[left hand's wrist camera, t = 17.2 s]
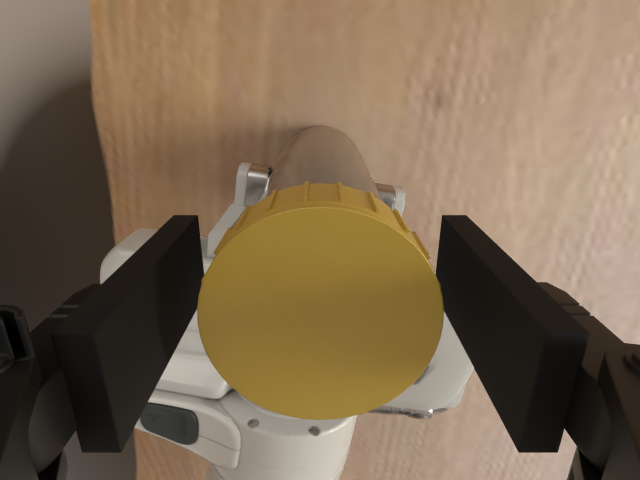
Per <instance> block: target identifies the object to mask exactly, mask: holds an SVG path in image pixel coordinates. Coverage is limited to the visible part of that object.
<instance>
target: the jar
mask: <svg viewBox="0 0 640 480" xmlns="http://www.w3.org/2000/svg"><path fill="white" fill-rule="evenodd" d="M305 181H309V184H313V183H327V184H337V182H342V185H343V186H348V187H352V188H355V189H358V190H361V191H363V192H366V193H368V192H369V191H370V192H372V193H373V195H374V197H376V198H377V199H379V200H380V201H382V202H383V203H385V202H384V200H383V198H382V196H381V194H380V192H379V190H378V188H377V187H376V185H375V183H374V181H373V179H372V177H371V175H370V173H369V171H368V169H367V167H366V165H365V163H364V161H363V159H362V157H361V155H360V154H359V152H358V150H357V148H356V146H355V144H354V143H353V142H352V140H351V139H350V138H349V137H348V136H346V135H345V134H344V133H342V132H341V131H339V130H337V129H334V128H331V127H327V126H313V127H309V128H306V129H303V130H301V131H299V132H298V133H296V134H295V135H294V136H292V137H291V138H290V139H289V141H288V142H287V143H286V145H285V146H284V148H283V150H282V152H281V154H280V156H279V158H278V160H277V162H276V164H275V166H274V168H273V170H272V172H271V173H270V175H269V177H268V179H267V181H266V183H265V185H264V187H263V189H262V191H261V193H260V195H259V197H258V199H257V201H256V203H257V202H259V201H260V200H262V199H263V198H265V197H267V196H269V195H271V194H272V192H273V190H275V189H277V191H280V190H283V189H286V188H289V187H293V186H298V185H303V184H304V182H305ZM256 203H255V204H256Z"/></svg>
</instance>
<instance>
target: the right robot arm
mask: <svg viewBox="0 0 640 480" xmlns="http://www.w3.org/2000/svg"><path fill="white" fill-rule="evenodd" d="M271 172H272V167H270V166H264V165H259V164H252V163H247V162H242V163H241V164H240V165H239V168H238V172H237V177H236V188H235V199H234V200H233V202H232V203H231V204H230V206H229V207H228V208H227V210H226V211H225V212H224V214H223V215H222V216H221V218H220V219H219V220H218V222H217V223H216V224H215V226H214V227H213V229H212V230H211V231H210V233H209V234H208V237H203V236H200V240H201V249H202V258H203V267H204V275H205V273H206V271H207V270H208V268H209V266H210V264H211V263H212V261H213V259H214V257H215V256H216V255H215V254H213V252H214V251H215V249H216V247H217V246H218V244H219V242H220V241H221V239H222V237H223V236H224V234H225V232H226V231H227V229H228V228H231V229H232V227H233V226H234V224H235V222H236V221H237V220H238V218H239V217H240V216H241V214H242V213H243V212H244V210H245V209H246V207H247V206H248V205H250V206H251V207H252V206H253V205H255V203H256V201H257V199H258V197H259V195H260V193H261V191H262V189H263V187H264V185H265V183H266V181H267V179H268V177H269V175H270V173H271ZM375 185H376V187H377V188H378V190H379V192H380V194H381V196H382V198H383V200H384V202H385V204H386V205H388V206H389V207H390V208H391V209H392V210H394V209H395V208H396V209H397V210H398V211H399V213H400V215H401V216H402V212H403V208H404V204H405V195H406V194H405V191H404V190H403V189H402V187H397V186H391V185H385V184H378V183H375ZM157 231H158V230H157V229H150V228H140V229H137V230H135V231H134V232H132V233H131V234H130V235H128V236H127V237H125V238H124V239H123V240H121V241H120V242H119V243H118V244H117V245H116V246H115V247H114V248H113V249H112V250H111V251H110V252H109V253H108V254H107V255H106V257H105V258H104V260H103V262H102V265H101V270H100V284H102V283H103V282H104V281H105V280H106V279H107V278H108V277H109V276H111V275H112V274H113V273H114V272H115V271H116V270H117V269H118V268H119V267H120V266H121V265H122V264H123V263H124V262H125V261H126V260H127V259H128V258H129V257H131V256H132V255H133V254H134V253H135V252H136V251H137V250H138V249H139V248H140V247H141V246H142V245H143V244H144V243H145V242H146V241H147V240H148V239H150V238H151V237H152V236H153V235H154V234H155V233H156V232H157ZM434 272H435V275H436V271H434ZM473 369H474V367H473V365H472V363H471V361H470V359H469V357H468V355H467V354H466V352H465V350H464V348H463V346H462V344H461V342H460V340H459V338H458V337H457V335H456V333H455V331H454V329H453V327H452V325H451V323H450V321H449V319H448V318H447V316H446V314H445V312H444V319H443V328H442V333H441V338H440V341H439V344H438V346H437V349H436V352H435V354H434V356H433V357H432V359H431V361H430V363H429V365H428V366H427V367H426V369H425V370H424V372H423V373H422V374H421V376H420V377H419V378H418V379H417V380H416V381H415V382H414V383H413V384H412V385H411V386H410V387H409V388H408V389H406V390H405V391H404V392H403V393H402V394H400V395H399V396H397V397H396V398H394V399H393V400H391V401H390V402H388V403H386V404H384V405H382V406H380V407H378V408H376V409H373V410H371V411H368V412H369V413H377V414H398V415H406V416H409V417H411V418H416V419H428V418H431V416H432V414H434V413H440V412H444V411H446V410H448V409H453V408H455V407H456V406H457V405H458V403H459V402H460V400H461V397H462V394H463V392H464V389H465V386H466V383H467V380H468V378H469V376H470V375H471V373H472V371H473ZM356 419H357V415H355V416H351V417H346V418H340V419H330V420H311V419H301V418H295V417H290V416H286V415H282V414H278V413H275V412H273V411H270V410H267V409H265V408H263V407H261V406H259V405H257V404H255V403H253V402H251V401H250V400H248V399H246V398H245V397H243V396H242V395H240V394H239V393H238V392H237V391H236V390H234V389H233V388H232V387H231V386H230V385H229V384H228V383H227V382H226V381H225V380H224V379H223V378H222V377H221V376H220V375H219V373H218V372H217V370H216V369H215V368H214V366H213V365H212V363H211V361H210V360H209V358H208V356H207V354H206V352H205V349H204V347H203V344H202V341H201V338H200V333H199V328H198V320H197V310H196V312H195V314H194V316H193V318H192V319H191V321H190V323H189V325H188V327H187V329H186V331H185V333H184V335H183V337H182V338H181V340H180V342H179V344H178V346H177V348H176V350H175V352H174V354H173V355H172V357H171V359H170V361H169V363H168V365H167V367H166V369H165V371H164V372H163V374H162V376H161V378H160V380H159V382H158V384H157V386H156V388H155V389H154V391H153V393H152V395H151V397H150V399H149V401H148V403H147V405H146V406H145V408H144V410H143V412H142V414H141V416H140V418H139V420H138V422H137V423H136V425H135V427H134V428H136V429H138V430H141V431H144V432H146V433H149V434H152V435H155V436H157V437H160V438H162V439H165V440H167V441H170V442H172V443H174V444H177V445H179V446H181V447H183V448H185V449H188V450H190V451H192V452H193V453H195V454H197V455H199V456H201V457H203V458H204V459H206V460H208V461H209V462H210V463H211V464H210V466H209V468H208V470H207V473H206V476H205V480H338V479H339V477H340V476H341V473H342V471H343V469H344V466H345V463H346V459H347V455H348V452H349V448H350V443H351V439H352V435H353V431H354V427H355V423H356Z"/></svg>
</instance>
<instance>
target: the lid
mask: <svg viewBox="0 0 640 480" xmlns="http://www.w3.org/2000/svg"><path fill="white" fill-rule="evenodd" d="M213 254H215V255H216V256H215V257H214V259H213V261H212V263H211V264H210V266H209V268H208V270H207V271H206V273H205V275H204V276H203V278H202V280H201V283H202V285H201V289H200V292H199V296H198V306H197V320H198V328H199V333H200V338H201V341H202V344H203V347H204V349H205V352H206V354H207V356H208V358H209V360H210V361H211V363H212V365H213V366H214V368H215V369H216V370H217V372H218V373H219V375H220V376H221V377H222V378H223V379H224V380H225V381H226V382H227V383H228V384H229V385H230V386H231V387H232V388H233V389H234V390H236V391H237V392H238V393H239V394H240V395H242V396H243V397H245V398H246V399H248V400H250V401H251V402H253V403H255V404H257V405H259V406H261V407H263V408H265V409H267V410H270V411H273V412H275V413H278V414H282V415H286V416H290V417H295V418H301V419H311V420H330V419H340V418H346V417H351V416H355V415H359V414H363V413H366V412H368V411H371V410H373V409H376V408H378V407H380V406H382V405H384V404H386V403H388V402H390V401H391V400H393V399H394V398H396V397H397V396H399V395H400V394H402V393H403V392H404V391H405V390H406V389H408V388H409V387H410V386H411V385H412V384H413V383H414V382H415V381H416V380H417V379H418V378H419V377H420V376H421V374H422V373H423V372H424V370H425V369H426V367H427V366H428V365H429V363H430V361H431V359H432V357H433V356H434V354H435V352H436V349H437V346H438V344H439V341H440V338H441V333H442V328H443V319H444V306H443V297H442V292H441V289H440V288H441V285H440V283H439V281H438V279H437V277H436V275H435V272H434V270H433V268H432V266H431V264H430V263H429V261H428V259H430V258H431V257H430V256H429V254H428V252H427V251H426V249H425V247H424V246H423V244H422V242H421V241H420V239H419V238H418V236H417V234H416V233H415V232H413V233H412V232H411V231H410V229H409V228H408V226H407V225H406V223H405V221H404V220H403V218H402V216H401V215H400V213H399V211H398V210H397V209H396V208H395V209H394V210H392V209H391V208H390V207H389V206H388V205H386V204H385V203H383V202H382V201H380V200H379V199H377V198H376V197H374V195H373V193H372V192H370V191H369V192H368V193H366V192H363V191H361V190H358V189H355V188H352V187H348V186H343V185H342V182H337V184H327V183H313V184H309V181H305V182H304V184H303V185H298V186H293V187H289V188H286V189H283V190H280V191H277V189H275V190H273V192H272V194H271V195H269V196H267V197H265V198H263V199H262V200H260V201H259V202H257V203H256V204H255V205H253V206H252V207H251V206H250V205H248V206H247V207H246V209H245V211H244V212H243V214H242V216H241V217H240V218H239V220H238V221H237V222H236V223H235V224H234V226H233V227H232V229H231V228H228V229H227V231H226V232H225V234H224V236H223V237H222V239H221V241H220V242H219V244H218V246H217V247H216V249H215V251H214V252H213Z"/></svg>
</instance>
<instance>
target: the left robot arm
mask: <svg viewBox="0 0 640 480" xmlns="http://www.w3.org/2000/svg"><path fill="white" fill-rule="evenodd" d="M203 276H204V267H203V258H202V249H201V240H200V231H199V222H198V215H174V216H173V217H172V218H171V219H170V220H168V221H167V222H166V223H165V224H164V225H163V226H162V227H161V228H160V229H159V230H158V231H157V232H156V233H155V234H154V235H153V236H152V237H151V238H150V239H148V240H147V241H146V242H145V243H144V244H143V245H142V246H141V247H140V248H139V249H138V250H137V251H136V252H135V253H134V254H133V255H132V256H131V257H129V258H128V259H127V260H126V261H125V262H124V263H123V264H122V265H121V266H120V267H119V268H118V269H117V270H116V271H115V272H114V273H113V274H112V275H111V276H109V277H108V278H107V279H106V280H105V281H104V282H103V283H102V284H92V285H90V286H89V287H86V288H84V289H83V290H81V291H79V292H77V293H75V294H73V295H72V296H71V297H70V298H69V299H68V300H67V301H66V302H64V303H63V304H62V305H61V308H58V309H56V310H55V311H54V312H53V313H52V314H51V315H50V317H47V318H46V319H45V320H44V321H43V322H42V323H41V324H39V325H38V326H37V327H36V328H35V329H34V330H33V331H32V332H29V329H28V325H27V322H26V319H25V315H24V312H23V310H22V309H20V308H18V307H17V306H10V305H0V480H66V474H67V468H68V465H67V458H66V454H65V451H64V446H65V445H66V444H67V442H68V441H69V439H70V438H71V436H72V435H73V433H74V432H75V431H77V435H78V439H79V442H80V446H81V449H82V452H122V450H123V448H124V446H125V444H126V442H127V440H128V438H129V437H130V435H131V433H132V431H133V429H134V427H135V425H136V423H137V422H138V420H139V418H140V416H141V414H142V412H143V410H144V408H145V406H146V405H147V403H148V401H149V399H150V397H151V395H152V393H153V391H154V389H155V388H156V386H157V384H158V382H159V380H160V378H161V376H162V374H163V372H164V371H165V369H166V367H167V365H168V363H169V361H170V359H171V357H172V355H173V354H174V352H175V350H176V348H177V346H178V344H179V342H180V340H181V338H182V337H183V335H184V333H185V331H186V329H187V327H188V325H189V323H190V321H191V319H192V318H193V316H194V314H195V312H196V310H197V306H198V296H199V292H200V289H201V285H202V283H201V280H202V278H203ZM436 277H437V279H438V281H439V283H440V285H441V288H440V289H441V292H442V297H443V306H444V312H445V314H446V316H447V318H448V319H449V321H450V323H451V325H452V327H453V329H454V331H455V333H456V335H457V337H458V338H459V340H460V342H461V344H462V346H463V348H464V350H465V352H466V354H467V355H468V357H469V359H470V361H471V363H472V365H473V367H474V369H475V371H476V372H477V374H478V376H479V378H480V380H481V382H482V384H483V386H484V388H485V389H486V391H487V393H488V395H489V397H490V399H491V401H492V403H493V405H494V406H495V408H496V410H497V412H498V414H499V416H500V418H501V420H502V422H503V423H504V425H505V427H506V429H507V431H508V433H509V435H510V437H511V439H512V440H513V442H514V444H515V446H516V448H517V450H518V452H558V449H559V446H560V442H561V439H562V435H563V431H564V428H565V430H566V431H567V433H568V434H569V435H570V437H571V438H572V440H573V441H574V443H575V444H576V445H577V448H576V451H575V454H574V458H573V461H572V465H571V468H570V471H569V475H568V478H567V480H640V345H637V344H628V343H624V342H622V341H621V340H620V339H619V338H618V337H617V336H616V335H614V334H613V333H612V332H611V331H610V330H609V329H608V328H606V327H605V326H604V325H603V324H602V323H601V322H600V321H598V320H597V319H596V318H595V317H594V316H590V313H589V312H588V311H587V310H586V309H585V308H584V307H582V306H579V303H578V302H577V301H576V300H574V299H573V298H572V297H571V296H570V295H569V294H568V293H566V292H565V291H563V290H561V289H559V288H557V287H555V286H553V285H551V284H549V283H547V282H536V281H535V280H534V279H533V278H532V277H531V276H529V275H528V274H527V273H526V272H525V271H524V270H523V269H522V268H521V267H520V266H519V265H518V264H517V263H516V262H515V261H514V260H513V259H512V258H511V257H509V256H508V255H507V254H506V253H505V252H504V251H503V250H502V249H501V248H500V247H499V246H498V245H497V244H496V243H495V242H494V241H493V240H492V239H490V238H489V237H488V236H487V235H486V234H485V233H484V232H483V231H482V230H481V229H480V228H479V227H478V226H477V225H476V224H475V223H474V222H473V221H472V220H470V219H469V218H468V217H467V216H466V215H442V222H441V231H440V240H439V249H438V258H437V267H436Z"/></svg>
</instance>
